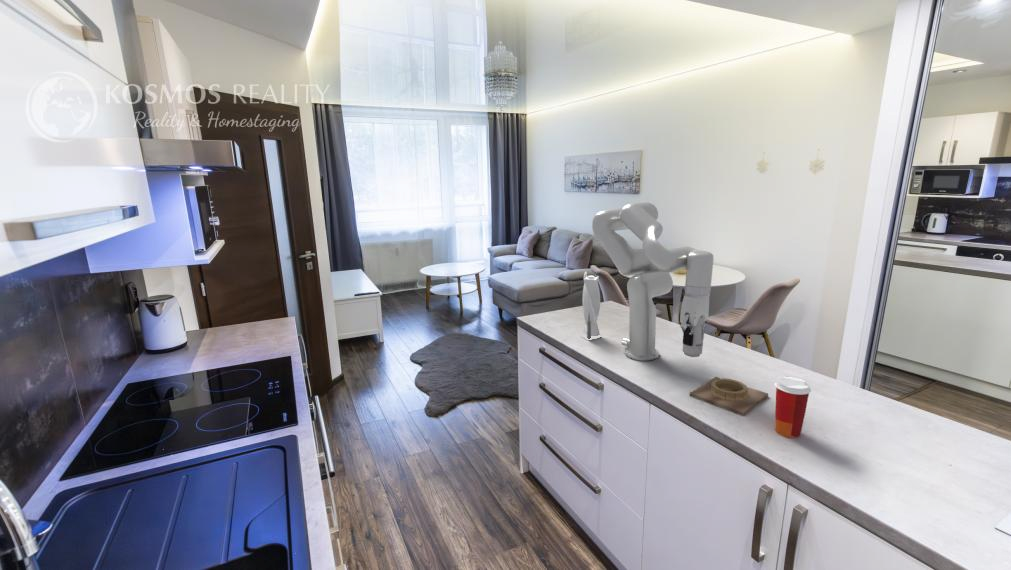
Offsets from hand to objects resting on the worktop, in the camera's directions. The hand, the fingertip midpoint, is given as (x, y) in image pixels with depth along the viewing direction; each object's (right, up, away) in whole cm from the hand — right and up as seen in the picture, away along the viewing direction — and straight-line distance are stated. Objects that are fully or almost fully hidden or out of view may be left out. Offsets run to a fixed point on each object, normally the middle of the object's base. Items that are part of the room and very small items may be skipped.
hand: (693, 341), depth 145 cm
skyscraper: (-25, -4, +44) cm, 51 cm away
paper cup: (+11, -20, -31) cm, 38 cm away
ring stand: (+6, -15, -12) cm, 20 cm away
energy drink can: (0, -4, +1) cm, 5 cm away
